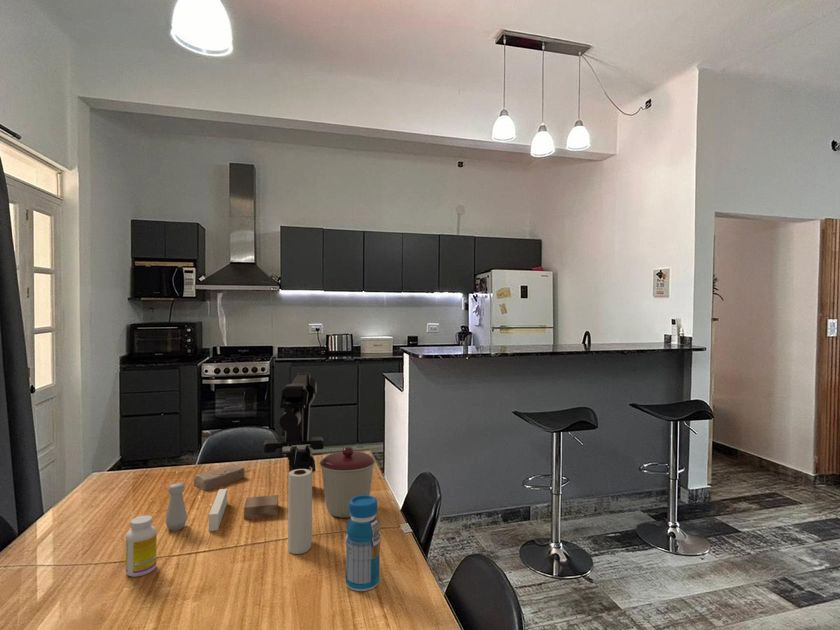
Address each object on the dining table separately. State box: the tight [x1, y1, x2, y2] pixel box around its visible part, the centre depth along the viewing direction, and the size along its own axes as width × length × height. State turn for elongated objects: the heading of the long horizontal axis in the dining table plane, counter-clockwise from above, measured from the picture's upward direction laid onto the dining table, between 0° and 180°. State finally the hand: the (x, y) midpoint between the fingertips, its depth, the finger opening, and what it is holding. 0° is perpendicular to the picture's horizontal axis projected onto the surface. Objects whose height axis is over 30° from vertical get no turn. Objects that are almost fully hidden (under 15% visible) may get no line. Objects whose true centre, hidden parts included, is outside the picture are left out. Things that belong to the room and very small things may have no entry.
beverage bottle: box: [344, 495, 382, 592], centre depth 112 cm, size 8×8×20 cm
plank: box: [208, 488, 228, 532], centre depth 147 cm, size 2×20×5 cm, turn 16°
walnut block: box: [243, 494, 279, 520], centre depth 150 cm, size 10×8×4 cm
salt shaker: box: [164, 482, 188, 532], centre depth 139 cm, size 6×6×13 cm
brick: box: [193, 463, 246, 491], centre depth 177 cm, size 16×8×5 cm, turn 143°
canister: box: [319, 446, 377, 519], centre depth 152 cm, size 18×18×21 cm
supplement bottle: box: [125, 515, 157, 578], centre depth 116 cm, size 7×7×13 cm
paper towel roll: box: [287, 468, 313, 555], centre depth 128 cm, size 7×6×21 cm
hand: (293, 470), depth 153 cm, fingers closed
